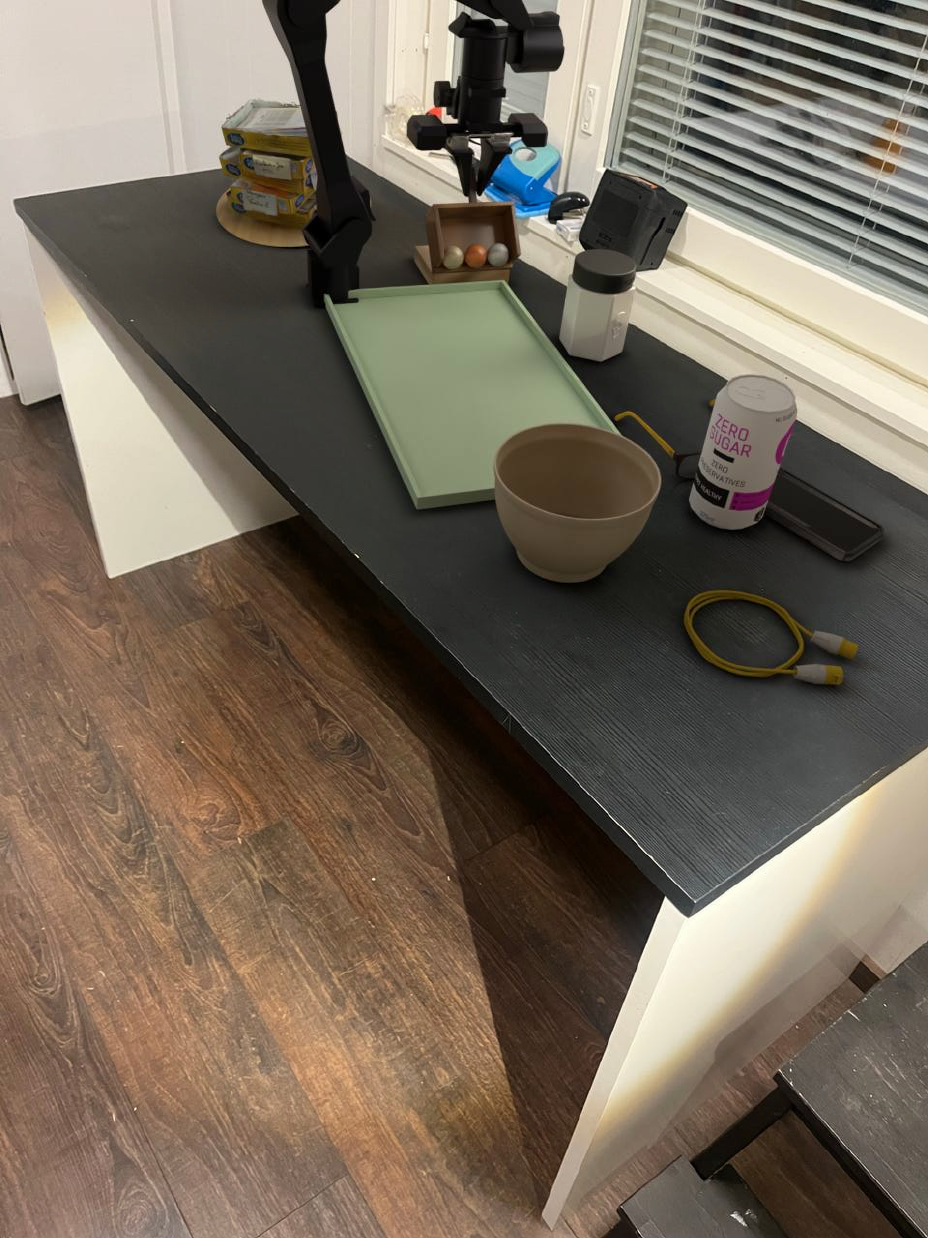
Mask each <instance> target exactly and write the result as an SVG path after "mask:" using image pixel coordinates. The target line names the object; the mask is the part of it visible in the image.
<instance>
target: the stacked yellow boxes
mask: <svg viewBox="0 0 928 1238" xmlns="http://www.w3.org/2000/svg"><path fill="white" fill-rule="evenodd" d="M336 113H337V118H338V119H339V116H338V115H339V114H338V111H337V110H336ZM225 119H226V120H225V121H224V123H223V124H221V132H222V135H223V139H224V143H225V145H226V147H227V146H228V147H227V149H225V150H224V151H222V152H221V153H220V155H218V160H219V163H220V166H221V170H222V174H223V175H224V176H227V177H230V178H234V179H235V180H234V181H233V182H232V184H230V187H229V188H228V189H226V191H224V193H223V194H222V195H221V196H220V198H219V200H218V201H217V204H216V209H215V213H216V214H215V215H216V218H217V221H218V222H219V224H220V225H221V226H222V227H223V228H224V229H225V230H226V231H227V232H228V233H229V234H230V235H231V234H232V235H233V236H235V237H236V238H239V239H241V240H244V241H246V242H250V243H254V244H258V245H263V246H269V247H278V248H282V247H283V248H287V247H288V248H290V247H291V248H293V247H305V246H309V245H308V244H307V243H306V241H305V238H304V236H303V233H302V229H303V228H304V226H305V225H306V224H307V223H308V222H309V221H310V219H311V218H312V217H313V216H314V215H315V214H316V213H317V205H316V186H317V171H316V167H315V163H314V159H313V155H312V151H311V147H310V143H309V139H308V135H307V131H306V127H305V123H304V119H303V115H302V111H301V107H300V104H299V103H297V104H296V102H295V101H291V103H287V102H286V103H283V102H281V101H275V100H273V101H271V100H266V101H265V100H263V99H260V97H258V98H254V99H253V98H252V99H248V100H247V102H246V103H244V105H241V106H240V107H239V109H237V110H236V111H235V112H233V113H232V115H228V117H226V118H225ZM340 131H341V136H343V131H342V129H341V128H340ZM370 203H371V204H372V198H371V197H370Z"/></svg>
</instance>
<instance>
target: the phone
mask: <svg viewBox="0 0 928 1238" xmlns="http://www.w3.org/2000/svg"><path fill="white" fill-rule="evenodd" d="M763 515H765V516H767V517H769V518H770V519H772V520H773V521H775V522H777V523H778V524H780V525H782V527H784V528H786V529H787V530H789V531H791V532H793V533H794V534H796V535H797V536H799V537H801V538H802V539H804V540H805V541H807V542H809V543H810V544H812V545H813V546H816V547H817V548H819V549H820V550H822V552H823V551H824V552H825V553H827V554H828V555H830V556H831V557H833V558H835V559H836V560H838V561H840V562H851V561H854V560H855V559H857V558H858V557H859V556H861V555H862V554H863V553H865V552H866V551H868V550H870V549H871V548H873V546H875V545H876V544H878V543H880V542H881V540H882V538H883V535H884V534H885V529H884V527H883V526H882V525H880V524H879V523H877V522H876V521H874V520H872V519H870V518H869V517H867V516H865V515H863V514H862V513H860V512H858V511H856V510H855V509H853V508H852V507H849V506H848V505H846V504H844V503H843V502H841V501H840V500H838V499H836V498H834V497H833V496H832V495H829V494H827V493H826V492H824V491H822V490H820V489H819V488H817V487H815V486H814V485H812V484H811V483H808V482H807V481H805V480H803V479H801V478H800V477H798V476H796V475H795V474H794V473H792V472H790V471H788V470H786V469H785V468H782V467H779V470H778V473H777V476H776V479H775V482H774V485H773V488H772V490H771V493H770V496H769V499H768V502H767V505H766V508H765V511H764V514H763Z"/></svg>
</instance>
